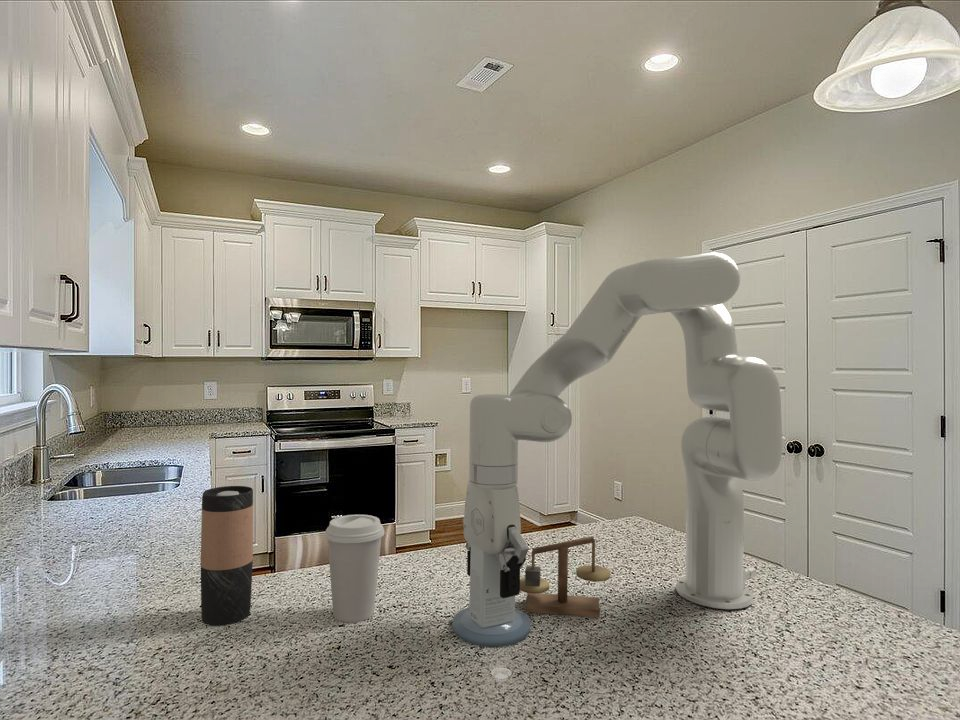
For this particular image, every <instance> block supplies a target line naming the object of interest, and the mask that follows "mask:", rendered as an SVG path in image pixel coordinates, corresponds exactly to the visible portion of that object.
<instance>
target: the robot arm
mask: <svg viewBox="0 0 960 720" xmlns="http://www.w3.org/2000/svg"><path fill="white" fill-rule="evenodd" d="M740 282H741V274H740V270H739V267H738V265H737V264H736V262H735V260H733V259H732V257H729V256H728V255H726V254H724V253H721V252H705V253H697V254H690V255H683V256H675V257H664V258H657V259H656V258H655V259H649V260H644V261H640V262H637V263H633V264H630V265H629V264H628V265H626V266H622V267H619V268H616V269H615V270H613V271H612V272H610V273H609V274H608V275H607V276H606V277H605V279H604V280H602V283H601V284H600V286H599V287H598V288H597V290H596V291H595V292H594V294H593V295H592V297H590V299H589V300H588V302H587V304H586V305H585V306H584V307H583V308H582V310H581V312H580V313H579V314H578V316H577V317H576V319H575V320H574V321H573V323H572V324H571V325H570V326H569V328H568V330H566V332H565V333H564V334H563V335H562V336H561V337H559V338H558V339H557V340H556V341H555V342H554V343H553V344H552V345H550V347H549V348H547V350H546V351H544V353H542V354H541V355H540V356H539V357H538V358H537V359H536V360H534V362H533V363H532V364H531V365H530V366H529V368H528V369H526V371H525V372H524V374H523V375H522V376H521V377H520V379H519V381H517V383H516V385H515V386H514V387H513V389H512V390H511V391H510V393H509V394H497V393H495V394H493V393H491V394H488V393H486V394H477V395H476V396H473V398H471V400H470V404H469V447H468V449H469V453H468V455H469V457H468V459H469V465H468V466H469V468H468V472H469V474H468V475H469V477H468V482H467V486H466V487H467V488H466V493H465V499H464V500H465V503H464V511H463V512H464V514H463V515H464V516H463V517H462V524H463V538H464V539H465V541H466V543H465V549H466V550H467V554H466V555H467V556H466V558H467V561H466V563H467V564H466V566H467V567H466V571H467V572H466V574H467V576H469V577H470V557H471V544H472V545H474V546H475V547H477V548H479V549H481V550H483V551H484V552H485V553H487V554H489V555H492V556H495V555H497V554H498V556H499V559H500V562H501V565H502V567H503V570H500V597H502V598H507V597H511V596H515V597H516V596H518V595H520V593H521V592H520V579H521V569H523V567H524V566H523V565H524V564H525V563H526V558H527V554H528V552H529V545H528V543H527V541H526V540H525V539H524V538H523V537H522V535H521V534H522V530H521V527H522V526H521V507H520V497H519V491H518V473H519V472H518V471H519V470H518V469H519V466H518V464H519V458H518V457H519V454H518V453H519V441H526V442H527V441H529V442H538V443H551V442H555V441H558V440H560V439H562V438H563V437H564V436H566V435H567V434H568V432H569V430H570V429H571V426H572V422H573V417H572V416H573V415H572V411H571V409H570V407H569V405H568V404H567V403H566V401H564V400H563V398H562V399H561V398H560V395H561V394H562V392H564V391H565V389H566V388H568V387H569V386H570V385H572V384H574V382H576V381H578V379H581V378H582V377H584V376H586V375H588V374H592V373H593V372H596V371H598V370H599V369H601V368H602V367H604V366H605V365H607V364H608V363H609V362H610V361H611V360H612V359H613V357H614V356H615V354H616V353H617V352H618V350H619V349H620V347H621V346H622V344H623V343H624V341H625V340H626V339H627V337H628V335H629V334H630V333H631V332H632V330H633V328H635V326H636V324H637V323H638V321H639V320H640V319H641V317H643V316H648V315H656V314H662V313H670V314H671V315H672V316H673V317H674V318H675V319H676V320H677V322H678V324H679V325H680V327H681V330H682V333H683V336H684V337H683V339H684V346H685V348H684V349H685V351H684V352H685V369H686V386H687V394H688V397H689V399H690V401H691V403H692V404H694V405H695V406H697V407H699V408H702V409H705V410H709V411H717V412H723V413H729V418H725V417H717V416H705V417H699V418H697V419H695V420H693V421H691V422H690V423H689V424H688V425H687V426H686V427H685V428H684V430H683V433H682V436H681V439H680V440H681V443H680V448H681V455H682V460H683V466H684V473H685V483H686V499H685V500H686V501H685V503H686V504H685V521H686V522H685V576H684V577H682V578H680V579H678V580H677V581H676V587H675V588H676V592H677V594H678V595H679V596H680V597H681V598H683V599H685V600H687V601H689V602H691V603H693V604H696V605H700V606H703V607H706V608H711V609H719V610H740V609H745V608H747V607H750V606H751V605H752V604H753V601H754V595H753V592H752V591H751V590H750V589H749V588H748V587H746V582H747V581H748V580H749V579H754V578H756V577H757V576H758V572H757V569H756V568H755V567H753V566H748V567H745V568H744V542H745V541H744V535H745V533H744V532H745V527H744V526H745V524H744V523H745V498H744V497H745V496H744V492H743V487H742V483H741V480H745V481H751V482H762V481H765V480H768V479H770V478H771V477H773V475H774V474H776V472H777V470H778V468H779V467H780V464H781V461H782V456H783V425H782V424H783V423H782V419H783V418H782V400H781V399H782V398H781V388H780V383H779V379H778V377H777V375H776V373H775V371H774V369H773V367H772V366H770V365H769V363H767V362H766V361H764V360H763V359H761V358H758V357H754V356H741V355H738V354H739V353H738V346H737V345H738V344H737V336H736V327H735V323H734V320H733V318H732V316H731V314H730V312H729V311H728V309H727V308H726V307H725V305H724V304H725V303H726V302H728V301H729V300H731V299H732V298H733V297H734V296H735V294H736V292H737V291H738V289H739V287H740ZM506 546H509V547H507V548H505V549H504V547H506ZM507 554H511V555H512V557H511V559H510V560H509V561H508V560H507V557H506V555H507Z"/></svg>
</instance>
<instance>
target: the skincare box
mask: <svg viewBox="0 0 960 720" xmlns="http://www.w3.org/2000/svg"><path fill="white" fill-rule="evenodd" d="M507 547H509V546H506V547H504V549H505V548H507ZM506 557H507V560H508V561H509V560H510V559H511V557H512V555H511V554H507V555H506ZM500 570H503V567H502V565H501V562H500V559H499V556H498V554H497V555H495V556H492V555H489V554H487V553H485V552H484V551H483V550H481V549H479V548H477V547H475V546H474V545H472V544H471V557H470V576H469V607H470V612H469V617H470V618H471V619H472V620H473V621H474V622H475V623H476V624H477V625H478V626H480V627H481V628H485V627H489V626H494V625H499V624H503V623H507V622H511V621H513V620H514V619H515V609H516V608H515V607H516V606H515V605H516V596H511V597H507V598H502V597H500Z"/></svg>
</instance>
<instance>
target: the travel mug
mask: <svg viewBox="0 0 960 720" xmlns="http://www.w3.org/2000/svg"><path fill="white" fill-rule="evenodd" d="M201 497H202V498H201V532H200V599H201V600H200V603H201V605H200V606H201V607H200V608H201V609H200V611H201V621H202V623H203V624H205V625H207V626H214V627H221V626H222V627H223V626H229V625H230V626H231V625H233V624H236V623H239V622H242V621H243V620H245V619H247V618H248V617H249V616H250V614H251V606H252V584H253V582H252V581H253V561H254V554H253V553H254V489H253V487H250V486H245V485H244V486H243V485H226V486H219V487H212V488H209V489H206V490H204V491H203V492H202V495H201ZM246 617H247V618H246Z"/></svg>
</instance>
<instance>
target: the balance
mask: <svg viewBox="0 0 960 720" xmlns="http://www.w3.org/2000/svg"><path fill="white" fill-rule="evenodd" d="M589 544H591V564H589V565H587V564H586V565H581V566H579V567H576V569H575V570H576V571H575V575H576V576H577V578H579V579H580V580H581V579H582V580H584V581H588V582H599V583H600V582H605V581H609V580H610V579H611V571H610V570H609V569H608V568H606V567H603V566H599V565H596V539H595V538H594V536H593V535H591V536H588V537H583V538H578V539H577V538H576V539H572V540H569V541H568V540H567V541H563V542H558V543H553V544H548V545H543V546H538V547H533V548H531V550H532V551H531V565H526V566H525V573H524V577H520V591H521V592H523V593H526V600H525V604H524V605H525V606H524V607H525V608H524V609H525V612H527V613H537V614H539V613H540V614H549V615H560V616H561V615H563V616H574V617H575V616H576V617H583V618H584V617H588V618H598V619H600V618H601V616H600V615H601V612H600V611H601V610H600V600H599V599H600V598H599V597H595V596H594V597H593V596H592V597H591V596H580V595H569V594H568V586H569V585H568V582H569V581H568V580H569V579H568V577H569V576H568V573H569V572H568V571H569V569H568V567H569V565H568V564H569V563H568V562H569V548H572V547H577V546H584V545H589ZM554 551H558V552H557V553H558V554H557V561H558V562H557V594H556V593H546V592H548V591H549V590H550V582H549V581H548V580H547V579H544V578H541V569H542V568H541V566H535V565H536V564H535V557H536V555H538V554H543V553H548V552H554ZM525 612H524V613H525Z"/></svg>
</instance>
